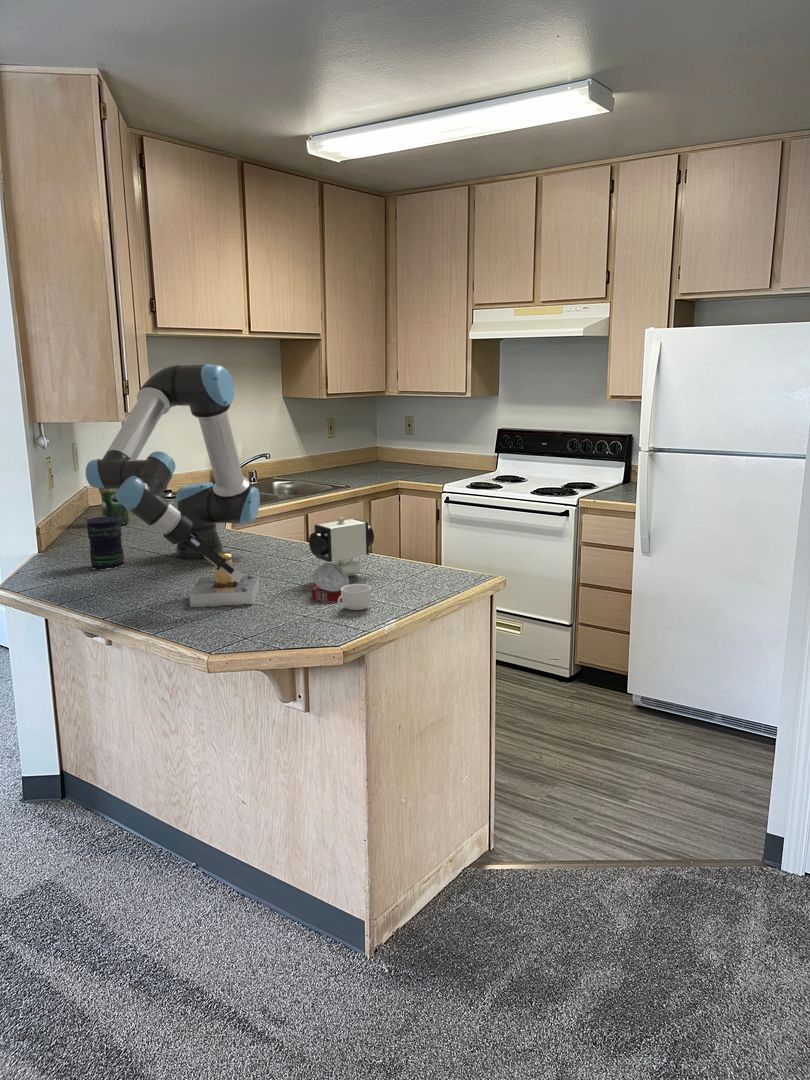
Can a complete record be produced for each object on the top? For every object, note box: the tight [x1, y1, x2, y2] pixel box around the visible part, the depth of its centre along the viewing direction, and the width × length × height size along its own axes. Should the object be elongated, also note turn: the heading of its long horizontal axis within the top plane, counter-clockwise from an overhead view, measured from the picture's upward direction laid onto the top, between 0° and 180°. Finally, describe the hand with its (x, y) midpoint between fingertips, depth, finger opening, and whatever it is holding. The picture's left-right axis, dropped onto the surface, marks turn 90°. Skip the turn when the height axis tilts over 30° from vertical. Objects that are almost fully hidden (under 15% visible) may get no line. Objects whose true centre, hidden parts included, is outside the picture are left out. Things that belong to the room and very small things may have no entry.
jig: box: [188, 574, 260, 608], centre depth 214 cm, size 16×16×4 cm
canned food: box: [311, 562, 350, 602], centre depth 213 cm, size 11×10×10 cm
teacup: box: [337, 583, 372, 611], centre depth 202 cm, size 10×8×5 cm
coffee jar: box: [98, 488, 130, 524], centre depth 312 cm, size 10×8×19 cm
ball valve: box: [308, 517, 375, 578], centre depth 230 cm, size 18×8×18 cm, turn 127°
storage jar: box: [86, 516, 125, 569], centre depth 248 cm, size 10×10×15 cm
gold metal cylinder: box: [214, 551, 234, 588], centre depth 213 cm, size 5×5×12 cm
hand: (233, 573), depth 214 cm, fingers open, 13 cm apart
